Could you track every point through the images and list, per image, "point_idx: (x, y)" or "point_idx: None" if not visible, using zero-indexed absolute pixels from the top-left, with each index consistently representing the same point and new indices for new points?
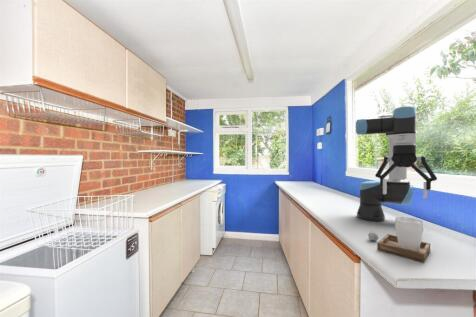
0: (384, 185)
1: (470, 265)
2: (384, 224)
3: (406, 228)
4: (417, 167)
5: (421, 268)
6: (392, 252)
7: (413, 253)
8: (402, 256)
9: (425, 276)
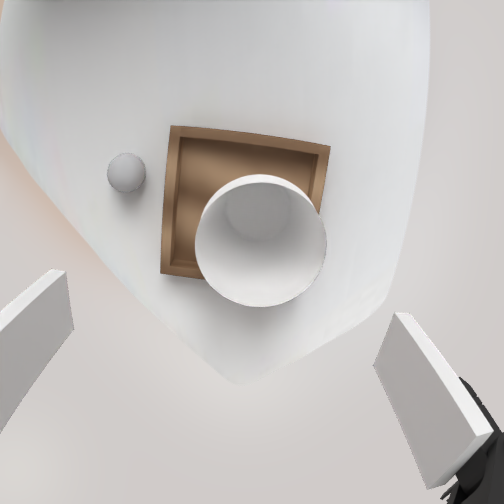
0: (28, 384)
1: (407, 213)
2: None
3: (252, 291)
4: None
5: (289, 322)
6: None
7: None
8: None
9: (294, 358)
